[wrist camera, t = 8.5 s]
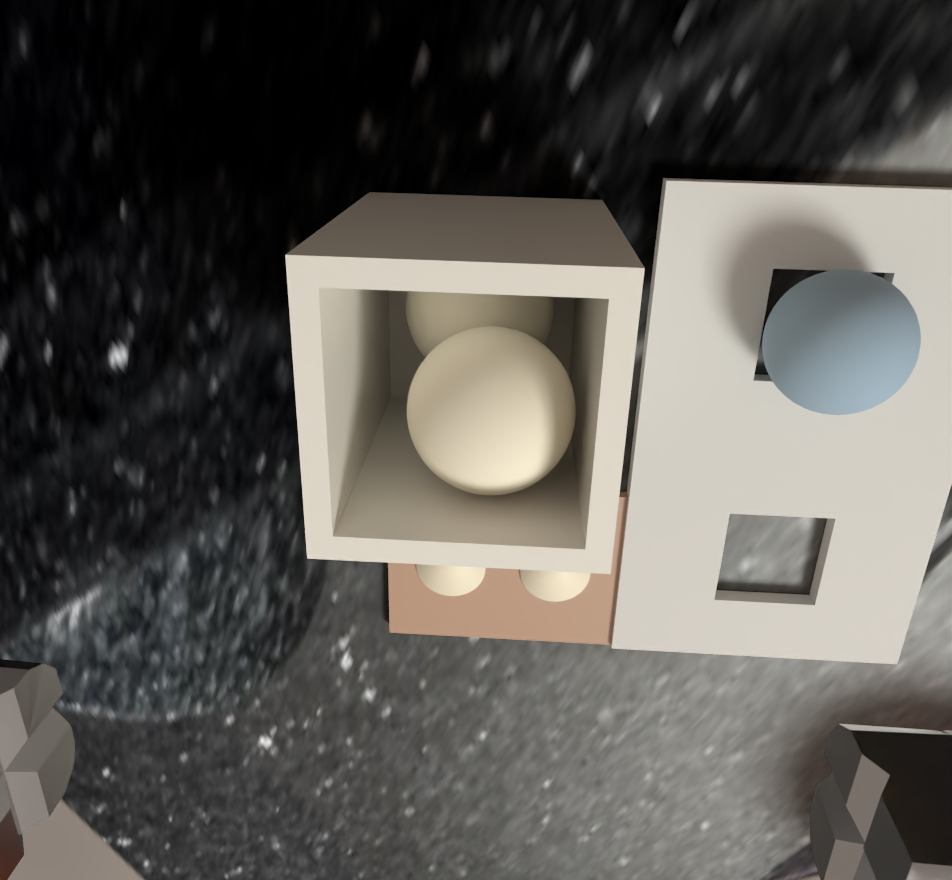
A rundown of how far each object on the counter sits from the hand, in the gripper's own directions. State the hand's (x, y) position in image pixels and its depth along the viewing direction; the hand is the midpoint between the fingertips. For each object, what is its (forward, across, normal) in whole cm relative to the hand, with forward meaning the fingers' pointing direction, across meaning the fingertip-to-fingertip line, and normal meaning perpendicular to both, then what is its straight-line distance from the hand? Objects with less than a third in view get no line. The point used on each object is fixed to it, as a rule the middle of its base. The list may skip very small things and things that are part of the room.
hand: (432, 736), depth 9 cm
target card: (+18, 0, +9) cm, 20 cm away
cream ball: (+12, 0, -1) cm, 12 cm away
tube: (+18, +1, 0) cm, 18 cm away
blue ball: (+18, -9, 0) cm, 20 cm away
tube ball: (+17, +1, 0) cm, 17 cm away
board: (+18, -9, +4) cm, 20 cm away
